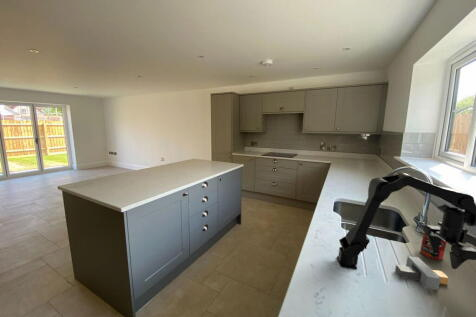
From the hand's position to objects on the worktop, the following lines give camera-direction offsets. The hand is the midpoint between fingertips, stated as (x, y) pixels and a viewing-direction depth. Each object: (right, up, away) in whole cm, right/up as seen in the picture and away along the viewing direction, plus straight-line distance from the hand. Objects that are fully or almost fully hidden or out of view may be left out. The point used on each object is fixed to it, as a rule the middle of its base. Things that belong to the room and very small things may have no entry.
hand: (443, 260), depth 77 cm
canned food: (+12, -6, +17) cm, 22 cm away
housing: (-7, -8, +3) cm, 11 cm away
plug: (-7, -8, +3) cm, 11 cm away
